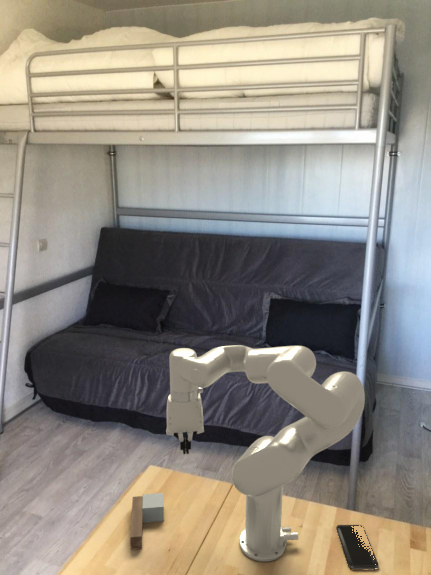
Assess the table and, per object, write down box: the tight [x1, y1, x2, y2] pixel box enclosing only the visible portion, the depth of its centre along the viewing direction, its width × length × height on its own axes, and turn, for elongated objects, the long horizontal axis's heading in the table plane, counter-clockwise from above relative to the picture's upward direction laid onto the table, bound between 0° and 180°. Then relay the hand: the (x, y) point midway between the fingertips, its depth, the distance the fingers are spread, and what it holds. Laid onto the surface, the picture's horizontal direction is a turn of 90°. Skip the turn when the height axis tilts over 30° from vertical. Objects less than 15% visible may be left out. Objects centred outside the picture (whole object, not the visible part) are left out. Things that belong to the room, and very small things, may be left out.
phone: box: [335, 524, 379, 571], centre depth 134 cm, size 8×1×15 cm
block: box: [142, 492, 165, 524], centre depth 145 cm, size 6×6×5 cm
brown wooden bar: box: [129, 495, 144, 550], centre depth 140 cm, size 3×16×4 cm, turn 7°
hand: (185, 451), depth 142 cm, fingers closed
